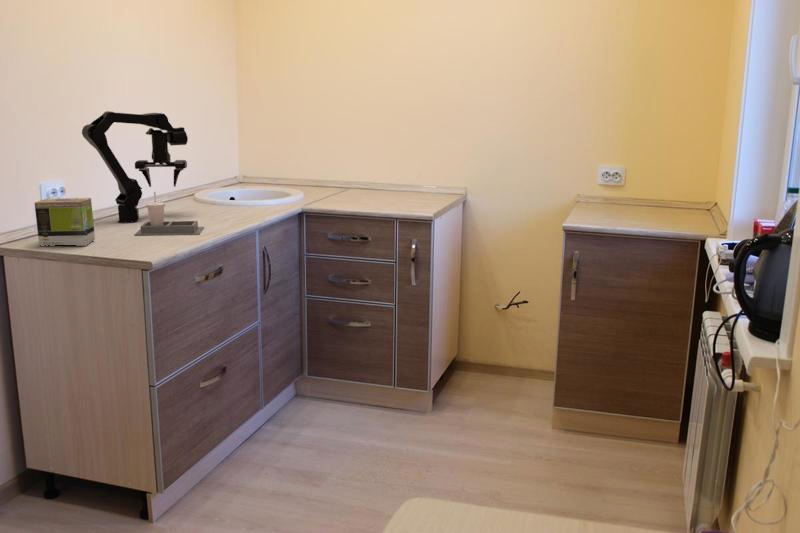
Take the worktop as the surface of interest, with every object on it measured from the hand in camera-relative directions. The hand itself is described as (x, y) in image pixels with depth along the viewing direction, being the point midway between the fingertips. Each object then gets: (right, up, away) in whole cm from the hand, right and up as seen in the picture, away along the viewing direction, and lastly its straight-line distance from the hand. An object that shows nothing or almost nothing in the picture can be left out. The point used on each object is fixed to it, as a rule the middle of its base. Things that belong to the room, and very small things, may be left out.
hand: (162, 186), depth 306 cm
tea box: (-17, -24, -46) cm, 55 cm away
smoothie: (+6, -18, -26) cm, 32 cm away
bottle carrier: (+10, -19, -25) cm, 33 cm away
